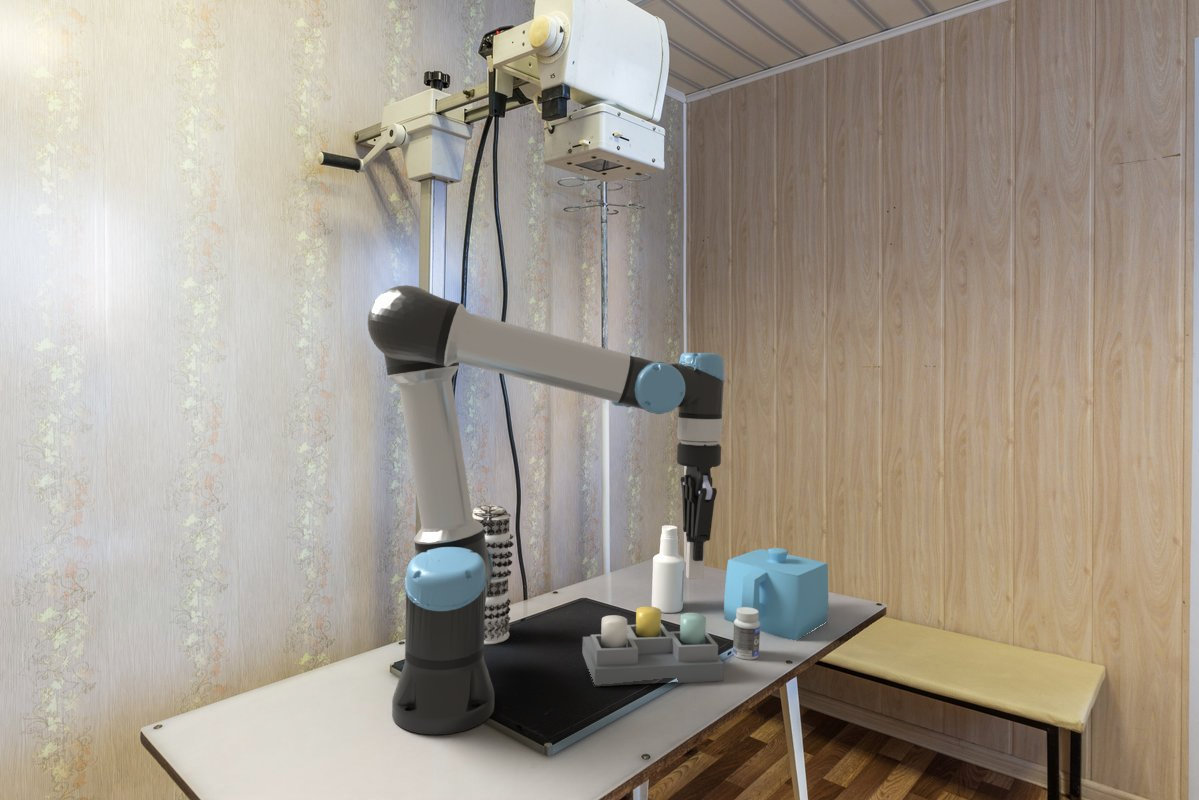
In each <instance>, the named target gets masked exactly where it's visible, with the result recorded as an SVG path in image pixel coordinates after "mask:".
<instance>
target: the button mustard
mask: <svg viewBox="0 0 1199 800" xmlns="http://www.w3.org/2000/svg"><path fill="white" fill-rule="evenodd" d="M635 613H636V614H635V625H636V634H638V635H640V636H643V637H656V636H659V635H660V631H661V624H662V623H661V622H662V612H661V610H660V609H659V608H656V607H652V606H651V605H650V606H649V605H647V606H646V605H645V606H644V605H643V606H640V607H637V608H636V612H635Z"/></svg>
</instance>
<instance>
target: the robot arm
mask: <svg viewBox="0 0 1199 800" xmlns="http://www.w3.org/2000/svg"><path fill="white" fill-rule="evenodd" d="M367 328H368V333H369V336H370V338H371V340H372V342H373V344H374V345H375V347H376V348H377V349H378V351H380V352H382V354H384V355H383V356H384V361H385V367H386V373H387V378H388V379H389V380H391V381H392V382H393V383H395V384H396V385H397V386H398V388H399V394H400V395H399V396H400V400H401V402H400V403H401V406H402V408H401V409H402V413H403V419H404V425H405V426H404V427H405V432H406V438H407V444H408V451H409V456H410V457H409V458H410V465H411V471H412V475H413V483H414V489H415V495H416V500H417V507H418V508H417V509H418V513H419V520H420V529H419V531H418V532H417V533H416V535H414V538H413V541H414V549H415V554H416V555H415V556H414V557H413V558H411V560H410V561H409V563H408V566H407V568H406V574H405V575H406V576H405V578H404V587H405V588H404V589H405V630H404V631H405V634H404V636H405V639H404V640H405V643H404V644H405V645H404V646H405V648H404V649H405V650H404V652H405V653H404V654H405V655H404V664H403V667H402V670H401V673H400V675H399V679H398V681H397V684H396V687H395V690H394V694H393V695H392V703H391V705H392V706H391V709H392V710H391V714H392V715H391V718H392V720H393V722H394V723H395V724H397V725H398V726H399V727H401V728H403V729H404V730H406V731H409V732H412V733H416V734H422V735H424V734H425V735H446V734H447V735H448V734H455V733H459V732H463V731H467V730H470V729H473V728H475V727H478V726H479V725H481V724H482V723H485V722H486V721H487V720H488V719H489V718H490V717H491V716H492V715H493V713H494V710H495V690H494V686H493V683H492V681H491V680H492V679H491V677H490V674H489V670H488V668H487V663H486V661H485V658H484V657H485V656H484V655H485V653H484V652H485V651H484V650H485V646H484V645H485V644H484V619H485V603H486V597H487V593H488V588H489V585H490V582H491V579H492V574H493V564H492V559H491V556H490V554H489V551H488V550H487V547H486V540H485V534H484V528H483V525H482V524H481V523H479V522H478V521H477V520H475V519H474V518H473V516H472V512H473V510H472V504H471V498H470V491H469V490H470V489H469V486H468V478H467V472H466V471H467V470H466V465H465V464H466V463H465V460H464V459H465V458H464V452H463V446H462V445H463V444H462V440H461V439H462V438H461V434H460V427H459V421H458V420H459V418H458V415H457V414H458V413H457V408H456V407H457V405H456V401H455V393H454V389H453V381H452V379H453V377H454V375H455V374H456V372H457V370H458V369H459V368H460V367H459V364H462V365H466V366H471V367H473V368H479V369H482V370H487V371H490V372H494V373H497V374H502V375H506V376H511V377H515V378H518V379H523V380H527V381H529V382H535V383H539V384H542V385H545V386H550V387H554V388H559V389H561V390H562V389H563V390H567V391H570V392H574V393H578V394H581V395H586V396H590V397H592V398H593V397H594V398H597V399H602V400H606V401H610V403H611V404H612V405H614V406H615V407H625V408H636V409H640V410H643V411H645V412H648V413H650V414H655V415H662V414H666V413H670V412H672V411H674V410H675V409H676V408H678V414H677V415H678V416H677V431H676V432H677V436H676V437H677V439H678V440H679V441H680V442H678V444H677V445H676V447H677V449H676V462H677V464H678V465H680V466H684V467H686V470H685V474H684V475H683V476H681V477H680V485H681V495H682V496H681V497H682V498H681V499H682V500H681V501H682V525H683V527H682V530H683V532H684V533H685V537H686V560H685V561H686V562H685V563H686V565H685V566H686V567H685V568H686V569H685V577H686V578H687V579H688V580H691V579H692V580H693V579H695V580H696V579H697V580H698V579H704V576H705V575H704V574H705V553H706V552H705V550H706V548H705V547H706V542H709V541H710V540H711V532H712V524H713V518H714V508H715V500H716V497H717V493H718V491H717V488H716V487H713V477H712V473H711V469H712V468H716V467H719V466H720V465H721V461H722V446H721V445H720V444H719V443H718V442H721V441H722V430H723V429H724V428H725V424H724V423H723V404H724V403H723V402H724V384H725V373H724V371H725V370H724V369H725V367H724V366H725V365H724V358H723V357H722V355H720V353H719V354H718V353H713V352H683V353H682V354H680V358H679V361H678V363H667V362H663V361H653V360H650V359H646V358H642V357H637V356H634V355H630V354H628V353H622V352H620V351H617V350H616V351H615V350H612V349H608V348H603V347H601V346H596V345H593V344H589V343H585V342H581V341H578V340H573V339H570V338H566V337H564V336H563V337H562V336H558V335H556V334H555V335H554V334H551V333H547V332H543V331H541V330H536V329H532V328H527V327H524V326H520V325H516V324H513V323H509V322H505V321H502V320H497V319H494V318H490V317H485V316H481V315H478V314H475V313H470V312H468V310H467V309H466V307H465V306H464V304H463V303H459V302H456V301H452V300H449V299H445V298H443V297H440V296H438V295H435V294H433V293H431V292H428V291H427V290H425V289H423V288H421V287H417V286H413V285H408V284H407V285H397V286H394V287H391V288H389V289H386V290H385V291H383V292H382V293H381V294H379V296H377V297H376V299H375V300H374V301H373V303H372V305H371V306H370V309H369V311H368V316H367Z"/></svg>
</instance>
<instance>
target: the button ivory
mask: <svg viewBox="0 0 1199 800" xmlns="http://www.w3.org/2000/svg"><path fill="white" fill-rule="evenodd" d="M627 625H628V619H627V618H626V617H625V616H621V615H617V614H616V615H615V614H613V615H604V616H603V617H602V618H601V629H600V633H601V644H602V645H604V646H606V647H610V648H620V647H623V646H625V645H626V644H627Z"/></svg>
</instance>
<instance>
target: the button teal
mask: <svg viewBox="0 0 1199 800" xmlns="http://www.w3.org/2000/svg"><path fill="white" fill-rule="evenodd" d="M679 623H680V625H679V631H680V640H681V641H682V642H684V643H687V644H693V645H697V644H702V643H704V642H705V630H706V628H707V625H706V624H707V617H706V616H705V615H704V614H700V613H696V612H684V613H682V614H680V622H679ZM706 631H707V630H706Z"/></svg>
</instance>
